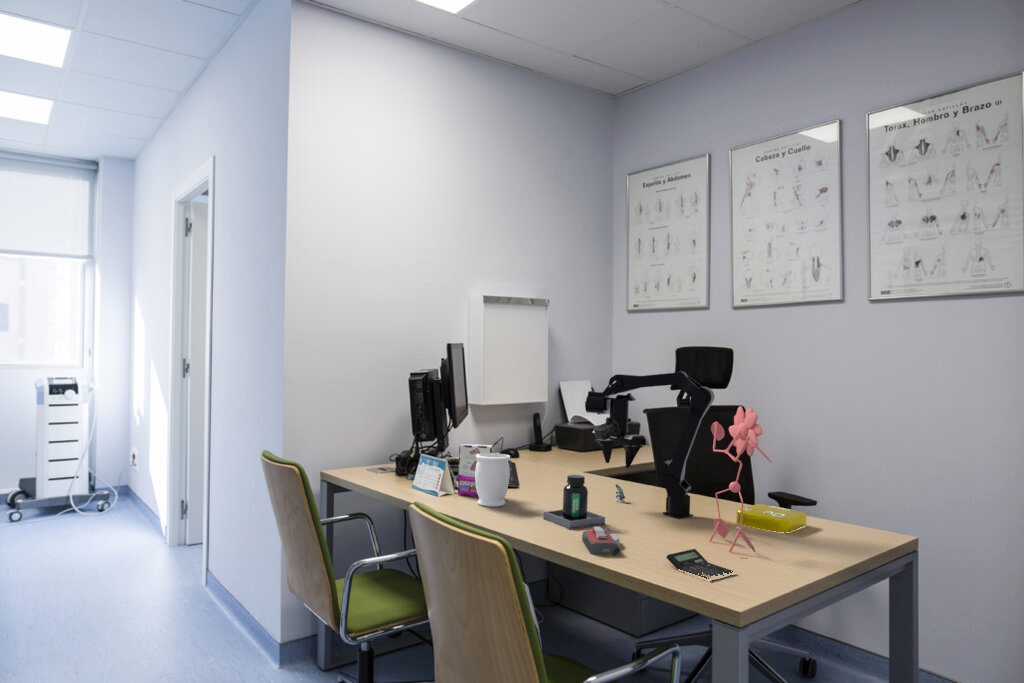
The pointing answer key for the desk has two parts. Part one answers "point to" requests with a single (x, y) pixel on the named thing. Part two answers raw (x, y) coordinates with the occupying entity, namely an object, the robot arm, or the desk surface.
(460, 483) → the candy bar box
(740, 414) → the figurine
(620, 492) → the sculpture
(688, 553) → the calculator
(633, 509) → the desk surface
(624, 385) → the robot arm
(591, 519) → the tray
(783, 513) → the element tile
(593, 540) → the walkie-talkie
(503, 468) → the jar
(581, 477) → the supplement bottle
